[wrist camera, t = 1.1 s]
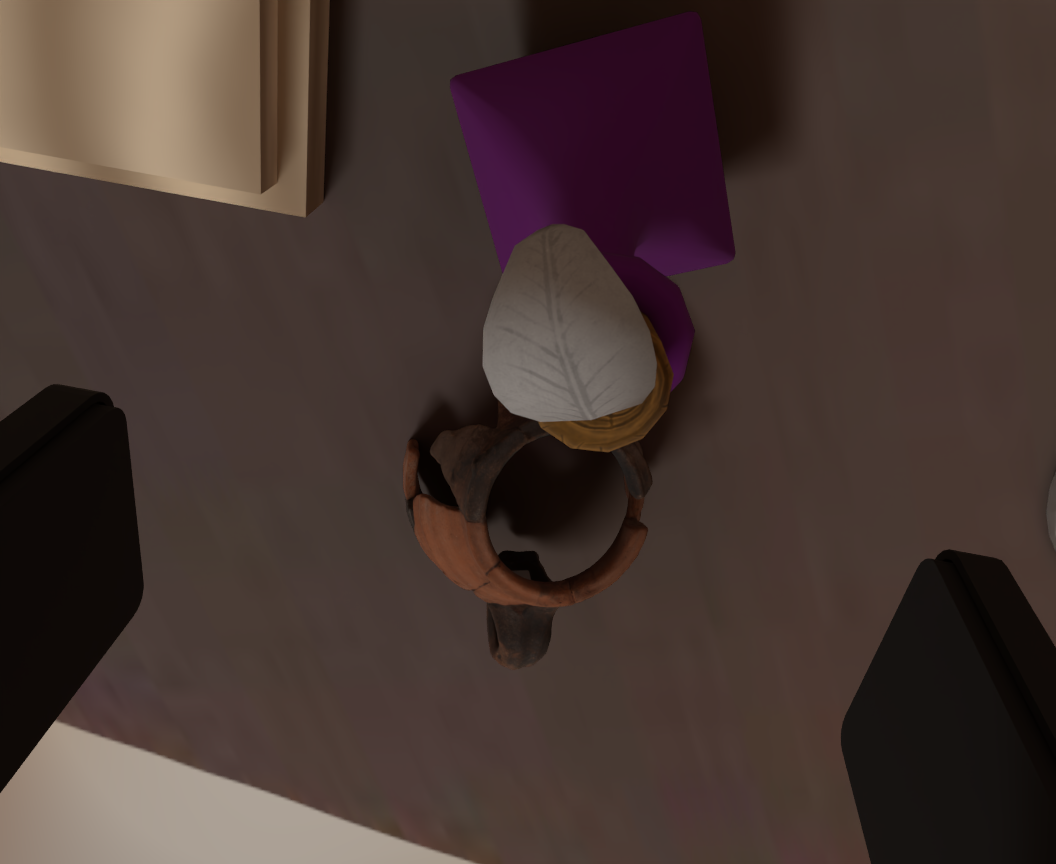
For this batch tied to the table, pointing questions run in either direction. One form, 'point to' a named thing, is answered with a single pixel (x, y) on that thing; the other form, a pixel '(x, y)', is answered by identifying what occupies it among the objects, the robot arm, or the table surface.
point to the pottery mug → (511, 577)
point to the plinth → (171, 95)
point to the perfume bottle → (596, 223)
